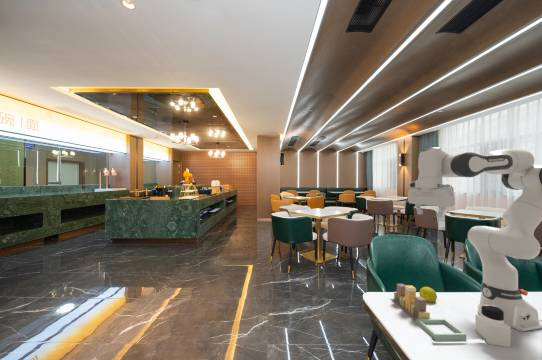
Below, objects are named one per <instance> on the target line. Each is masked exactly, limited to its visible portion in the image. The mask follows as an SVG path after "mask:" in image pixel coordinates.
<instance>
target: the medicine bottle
mask: <svg viewBox="0 0 542 360" xmlns="http://www.w3.org/2000/svg"><path fill="white" fill-rule="evenodd" d="M474 317H475V319H474V320H475V324H474V325H475V327H474V329H475V331H476V332H477V333H478V334H479V335H480V336H482V337H483V338H481V339H482V340H483V341H484V342H485V343H486V344H487V345H492V346H500V347H506V348H511V342H512V341H511V337H512V336H511V335H512V330H511V328H512V327H509V326H508V325H507V324H505V323H504V312H503V311H502V310H501V309H499V308H498V307H495V306H492V305H482V314H481V315H480V314H475V315H474Z"/></svg>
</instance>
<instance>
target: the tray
mask: <svg viewBox="0 0 542 360" xmlns="http://www.w3.org/2000/svg"><path fill="white" fill-rule="evenodd" d="M415 323H416V324H418V325H419V326H420V327H421V328H422V329H424V330H425V331H426V332H427V333H428V334H429V335H430V336H432V338H431V340H432V341H434V342H435V343H436V342H437V343H438V342H439V343H440V342H441V343H446V342H447V343H448V342H449V343H451V342H453V343H454V342H458V343H460V342H461V343H463V342H464V343H465V342H467V334H466V333H465V332H464V331H462V330H461V329H460V328H458V327H457V326H455V325H454V324H453V323H451V322H450V321H449V320H447V319H446V318H431V319H417V320H416V322H415ZM427 324H441V325H442V324H444V325H446V326H447V327H448V328H450V329H451V330H452V331H454V332H455V333H454V332H440V333H439V332H434V331H433V330H432V329H431V328H430V327H429V326H427Z"/></svg>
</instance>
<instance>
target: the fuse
mask: <svg viewBox="0 0 542 360" xmlns="http://www.w3.org/2000/svg"><path fill="white" fill-rule="evenodd" d="M404 285H405V308H406V309H407V310H409V303H414V300H415V297H417V288H416V287H415V286H413V285H412V284H411V285H410V284H409V285H408V284H407V285H406V284H404Z"/></svg>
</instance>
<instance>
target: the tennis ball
mask: <svg viewBox="0 0 542 360" xmlns="http://www.w3.org/2000/svg"><path fill="white" fill-rule="evenodd" d="M418 294H419V297H423V298H424V299H425V300H426V303H427V302H428V303H435V302H436V301H437V299H438V295H437V293H436V291H435V289H433V288H431V287H429V286H423V287H421V288H420V290H419V293H418Z"/></svg>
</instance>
